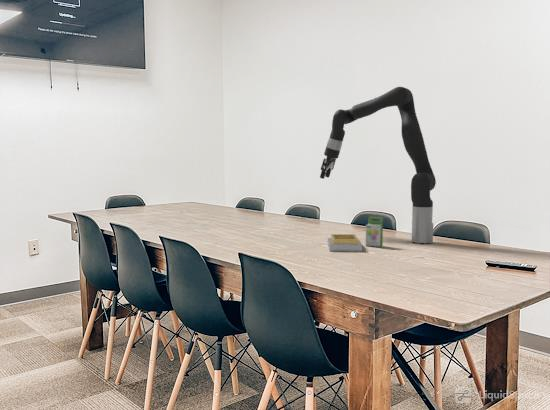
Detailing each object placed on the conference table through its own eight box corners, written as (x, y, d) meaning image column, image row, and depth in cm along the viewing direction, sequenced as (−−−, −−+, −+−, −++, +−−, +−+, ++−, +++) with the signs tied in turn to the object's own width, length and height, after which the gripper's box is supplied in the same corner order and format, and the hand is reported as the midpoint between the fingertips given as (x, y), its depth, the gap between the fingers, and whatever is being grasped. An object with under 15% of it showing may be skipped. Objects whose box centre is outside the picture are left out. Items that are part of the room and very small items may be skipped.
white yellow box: (357, 246, 249) (358, 234, 249) (361, 253, 233) (362, 239, 233) (327, 246, 250) (327, 233, 249) (329, 252, 234) (329, 239, 233)
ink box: (365, 246, 246) (365, 217, 244) (368, 244, 249) (368, 216, 248) (380, 247, 243) (380, 218, 241) (382, 246, 246) (383, 217, 245)
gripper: (336, 150, 270) (326, 181, 274) (344, 149, 283) (335, 178, 287) (322, 146, 272) (313, 176, 276) (330, 145, 285) (322, 174, 289)
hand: (324, 177), depth 281 cm, fingers open, 8 cm apart
